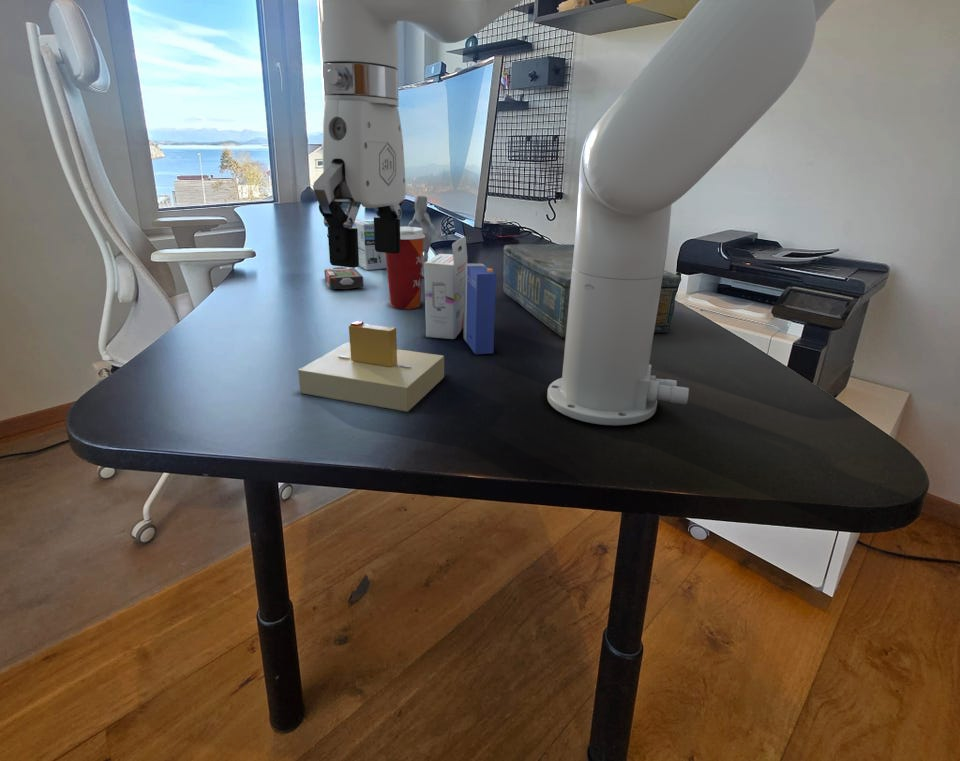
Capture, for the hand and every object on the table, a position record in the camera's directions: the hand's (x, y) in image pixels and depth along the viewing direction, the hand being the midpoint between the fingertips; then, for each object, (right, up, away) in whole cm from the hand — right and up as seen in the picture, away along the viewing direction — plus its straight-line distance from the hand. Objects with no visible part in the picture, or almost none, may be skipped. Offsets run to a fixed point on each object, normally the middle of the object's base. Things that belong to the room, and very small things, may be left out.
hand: (367, 258), depth 62 cm
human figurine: (0, +10, +64) cm, 65 cm away
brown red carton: (-17, +7, +56) cm, 59 cm away
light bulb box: (-14, +15, +75) cm, 78 cm away
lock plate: (0, -14, +6) cm, 15 cm away
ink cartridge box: (+7, -6, +27) cm, 28 cm away
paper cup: (-1, 0, +41) cm, 41 cm away
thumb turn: (0, -12, +4) cm, 12 cm away
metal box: (+31, -1, +40) cm, 51 cm away
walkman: (+12, -9, +20) cm, 25 cm away
